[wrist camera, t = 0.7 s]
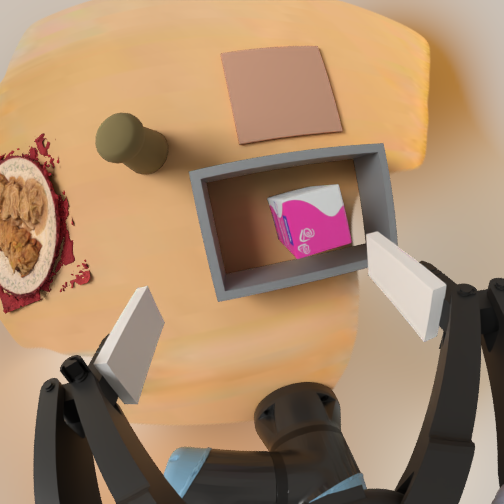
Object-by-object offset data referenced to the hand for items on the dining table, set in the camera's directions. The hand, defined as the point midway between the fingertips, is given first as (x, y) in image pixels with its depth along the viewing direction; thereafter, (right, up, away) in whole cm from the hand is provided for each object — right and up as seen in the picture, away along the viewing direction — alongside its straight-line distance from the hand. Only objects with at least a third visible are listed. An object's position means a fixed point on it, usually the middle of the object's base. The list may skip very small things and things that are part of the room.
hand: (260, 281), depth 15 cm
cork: (-14, +15, +17) cm, 26 cm away
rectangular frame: (+5, +7, +19) cm, 21 cm away
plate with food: (-39, +7, +17) cm, 43 cm away
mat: (+3, +23, +16) cm, 29 cm away
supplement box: (+5, +7, +20) cm, 21 cm away
